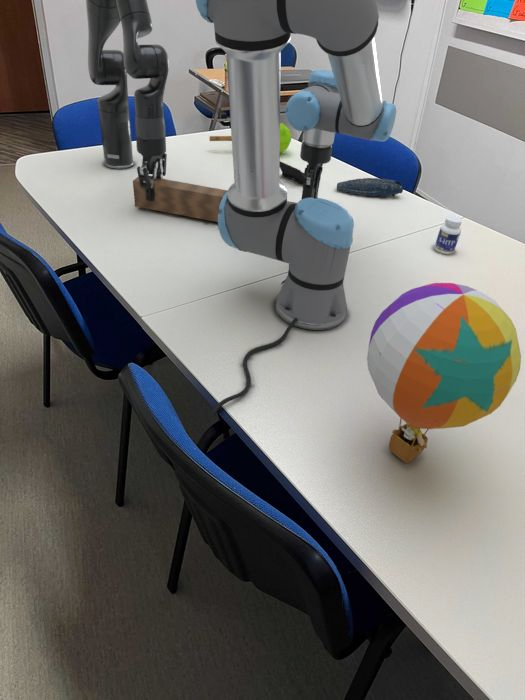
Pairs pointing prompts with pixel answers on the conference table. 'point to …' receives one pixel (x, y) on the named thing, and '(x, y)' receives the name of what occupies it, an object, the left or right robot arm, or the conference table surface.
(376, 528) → the conference table surface
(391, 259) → the conference table surface
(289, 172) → the handheld gaming console
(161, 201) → the post
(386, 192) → the fish model
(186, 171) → the conference table surface
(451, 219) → the pill bottle
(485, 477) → the conference table surface
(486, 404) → the toy
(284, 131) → the decorative tree
